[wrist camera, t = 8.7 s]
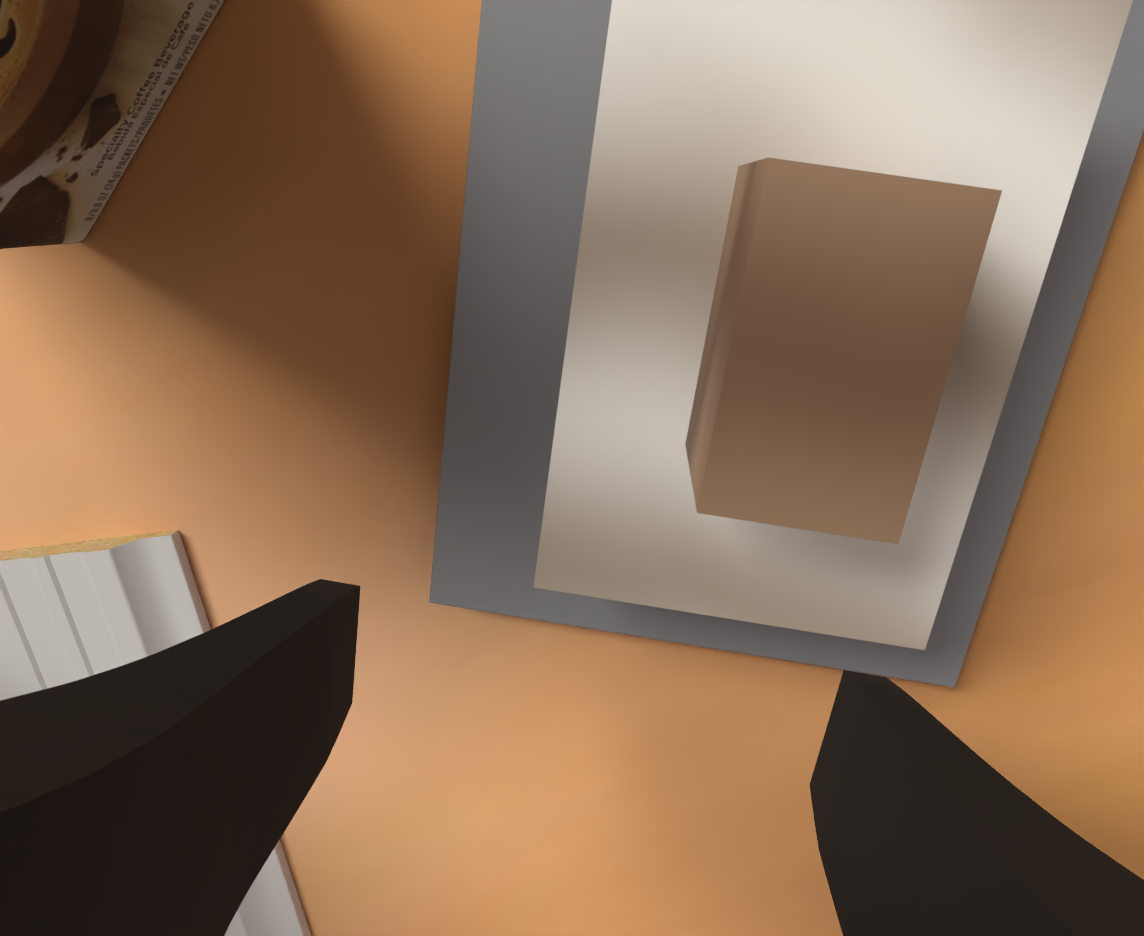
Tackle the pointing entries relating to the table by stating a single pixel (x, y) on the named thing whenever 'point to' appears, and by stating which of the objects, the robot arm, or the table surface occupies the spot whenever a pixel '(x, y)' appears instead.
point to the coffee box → (81, 103)
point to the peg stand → (540, 325)
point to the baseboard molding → (118, 650)
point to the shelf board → (663, 247)
